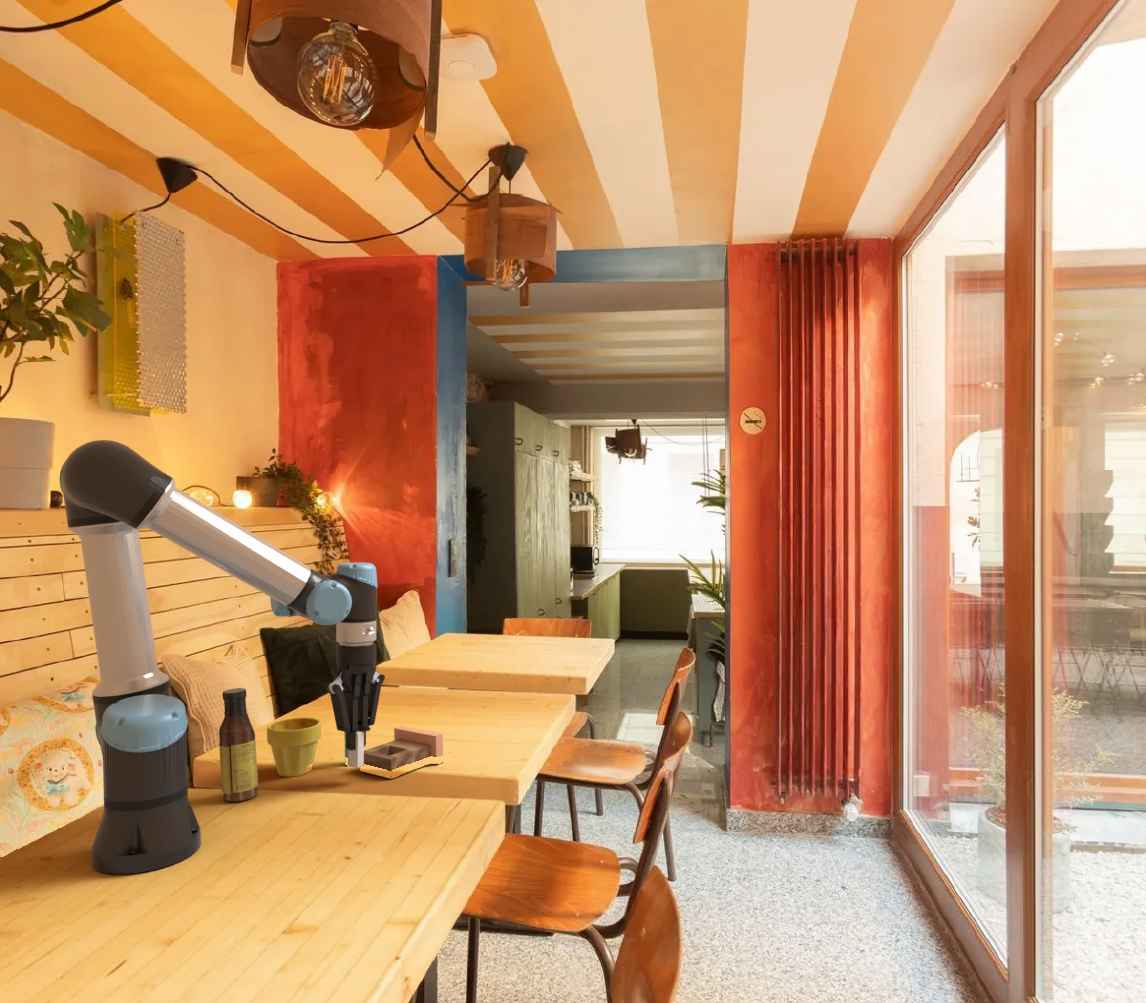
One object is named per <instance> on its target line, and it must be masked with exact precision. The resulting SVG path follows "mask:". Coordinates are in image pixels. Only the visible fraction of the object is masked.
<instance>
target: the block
mask: <svg viewBox="0 0 1146 1003" xmlns="http://www.w3.org/2000/svg"><path fill="white" fill-rule="evenodd" d="M430 756H431V745H428V744H424V743H419V742H414V741H409V740H404V739H397V740H394V739H393V740H391V741H388V742H386V743H383V744H382V743H381V744H380V745H376V746H374V747H370V748H368V749H365V750H364V764H366V765H370V766H374V767H378V768H382V769H386V770H388V771H392V770H393V769H396V768H399V767H401V766H404V765H406V764H411V763H413V762H416V761H419V760H422V759H424V758H427V757H430ZM388 780H393V779H392V776H391V778H389V779H388Z"/></svg>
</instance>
